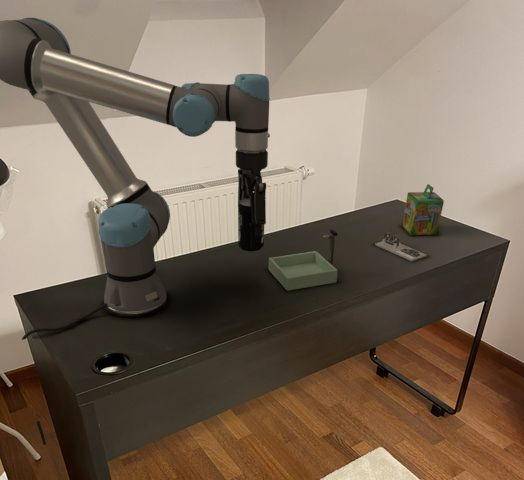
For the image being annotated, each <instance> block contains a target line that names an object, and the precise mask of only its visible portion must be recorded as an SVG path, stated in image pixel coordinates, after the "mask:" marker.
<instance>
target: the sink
mask: <svg viewBox="0 0 524 480" xmlns="http://www.w3.org/2000/svg"><path fill="white" fill-rule="evenodd" d="M268 271H269V272H270V273H271V274H272V275H273V277H274V278H275V279H276V280H277V281H278V282H279V284H281V286H282V287H283V288H284V289H285V290H286V291H294V290H299V289H300V290H301V289H306V288H311V287H317V286H323V285H328V284H335V283H338V282H337V281H338V272H339V271H338V269H337V268H336V267H335V266H333V265H331V264H330V263H329V262H328V259H325V258H324V256H323V255H322V254H320V252H318V251H317V250H313V251H307V252H301V253H299V252H298V253H293V254H288V255H280V256H272V257H268Z"/></svg>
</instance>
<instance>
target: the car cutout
mask: <svg viewBox="0 0 524 480" xmlns="http://www.w3.org/2000/svg"><path fill="white" fill-rule="evenodd" d="M374 245H375V247H379V248H381V249H383V250H385V251H387V252H390V253H392V254H394V255H397V256H399V257H401V258H403V259H405V260H408V261H409V262H414V261H417V260H420V259H423V258H425V257H428V254H426V253H424V252H421V251H419V250H417V249H414V248H412V247H410V246H408V245H405V244H403V243H401V242H400V238H399V237H398V236H397V233H396V232H393V231H391V230H390V231H388V232H385V233H384V236H383V238H382V240H381V241H379V242H375V243H374Z"/></svg>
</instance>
